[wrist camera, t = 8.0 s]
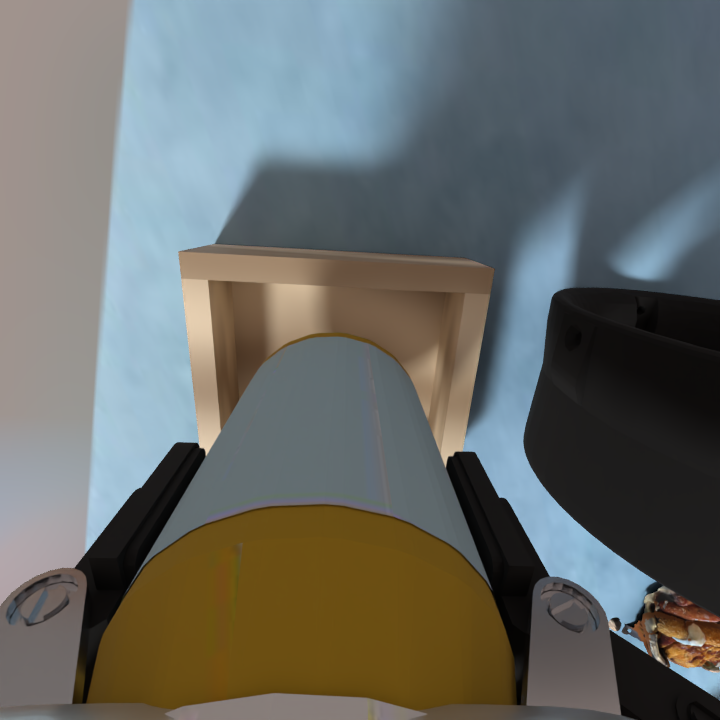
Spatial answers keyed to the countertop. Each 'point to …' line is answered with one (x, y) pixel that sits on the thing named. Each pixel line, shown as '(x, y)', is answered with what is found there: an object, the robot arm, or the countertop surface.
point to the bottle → (313, 562)
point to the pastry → (677, 631)
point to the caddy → (334, 321)
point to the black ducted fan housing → (635, 429)
